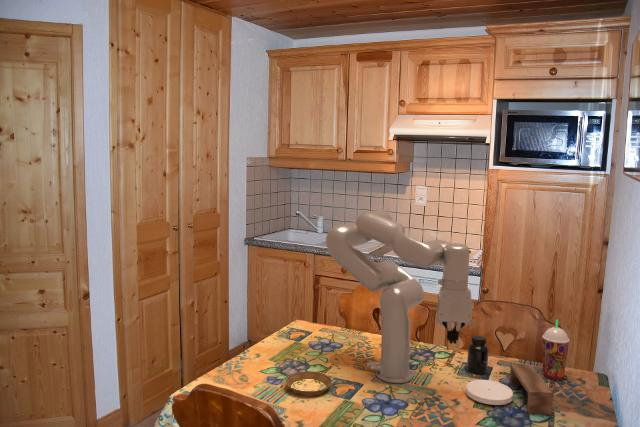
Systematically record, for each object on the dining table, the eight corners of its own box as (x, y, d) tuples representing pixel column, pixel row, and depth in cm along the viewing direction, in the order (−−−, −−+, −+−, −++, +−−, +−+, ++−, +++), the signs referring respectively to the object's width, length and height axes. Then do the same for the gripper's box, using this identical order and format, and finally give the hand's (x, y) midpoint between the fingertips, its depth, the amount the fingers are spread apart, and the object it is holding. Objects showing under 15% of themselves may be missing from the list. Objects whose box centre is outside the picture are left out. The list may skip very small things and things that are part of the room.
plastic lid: (462, 385, 172) (463, 378, 171) (507, 388, 170) (507, 381, 169) (468, 406, 158) (469, 398, 157) (517, 410, 156) (517, 401, 156)
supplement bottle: (488, 376, 178) (490, 342, 177) (467, 374, 180) (469, 340, 178) (486, 367, 185) (487, 335, 184) (466, 366, 186) (467, 333, 185)
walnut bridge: (528, 413, 153) (530, 391, 152) (509, 383, 173) (510, 363, 172) (551, 414, 153) (553, 392, 152) (529, 384, 172) (530, 364, 172)
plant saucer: (309, 374, 178) (309, 367, 178) (341, 389, 168) (341, 381, 167) (276, 388, 168) (276, 380, 168) (307, 404, 157) (307, 396, 157)
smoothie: (555, 383, 173) (559, 325, 171) (534, 374, 180) (538, 317, 178) (571, 379, 177) (576, 321, 174) (551, 369, 184) (554, 314, 182)
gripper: (431, 286, 157) (429, 345, 159) (483, 288, 156) (479, 347, 158) (428, 280, 164) (426, 336, 167) (477, 282, 163) (474, 338, 166)
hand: (452, 341), depth 162 cm, fingers closed
